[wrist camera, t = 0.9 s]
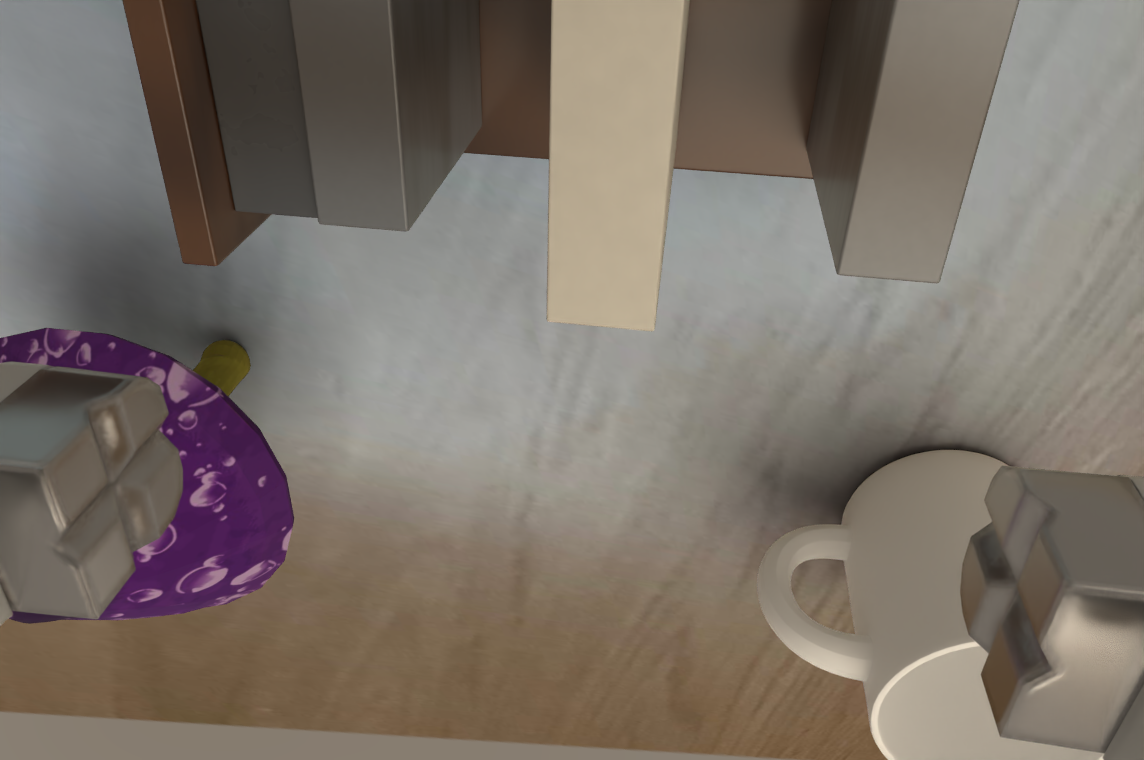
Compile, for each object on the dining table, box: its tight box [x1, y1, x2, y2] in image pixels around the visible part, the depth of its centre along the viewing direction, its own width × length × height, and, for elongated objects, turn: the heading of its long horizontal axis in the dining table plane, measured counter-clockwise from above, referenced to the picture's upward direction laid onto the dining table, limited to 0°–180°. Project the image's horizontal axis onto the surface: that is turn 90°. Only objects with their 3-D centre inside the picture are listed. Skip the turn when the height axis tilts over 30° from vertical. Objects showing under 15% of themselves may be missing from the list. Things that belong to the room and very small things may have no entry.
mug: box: [757, 450, 1104, 760], centre depth 35 cm, size 12×8×10 cm
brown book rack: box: [122, 0, 1019, 283], centre depth 25 cm, size 10×20×11 cm, turn 88°
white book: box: [547, 0, 690, 331], centre depth 23 cm, size 8×2×13 cm, turn 178°
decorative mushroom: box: [0, 328, 294, 623], centre depth 33 cm, size 12×12×15 cm
